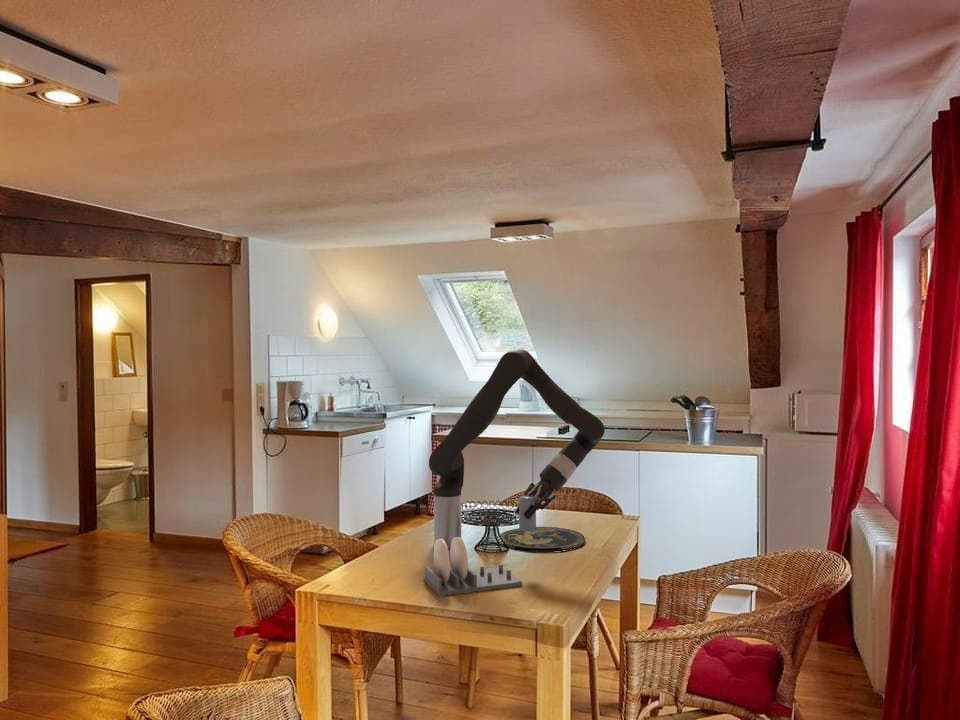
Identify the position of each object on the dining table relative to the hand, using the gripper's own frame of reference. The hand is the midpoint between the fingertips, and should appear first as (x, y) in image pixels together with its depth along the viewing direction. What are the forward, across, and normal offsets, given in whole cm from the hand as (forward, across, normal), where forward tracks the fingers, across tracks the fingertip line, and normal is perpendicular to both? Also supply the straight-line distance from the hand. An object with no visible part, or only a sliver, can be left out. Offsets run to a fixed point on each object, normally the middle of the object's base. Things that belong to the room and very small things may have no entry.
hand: (521, 515), depth 211 cm
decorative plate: (-2, -30, +27) cm, 40 cm away
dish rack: (+24, +4, 0) cm, 24 cm away
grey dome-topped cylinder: (+2, 0, +4) cm, 5 cm away
